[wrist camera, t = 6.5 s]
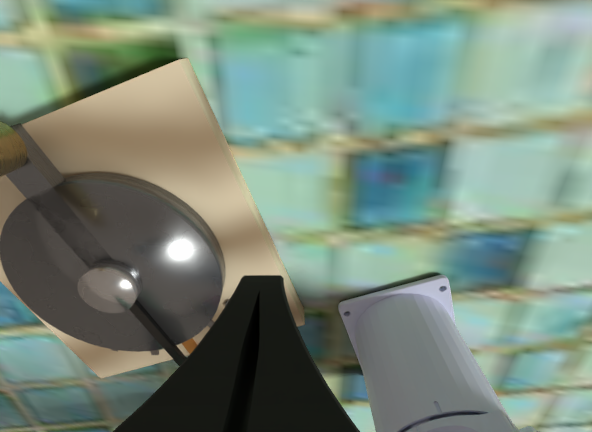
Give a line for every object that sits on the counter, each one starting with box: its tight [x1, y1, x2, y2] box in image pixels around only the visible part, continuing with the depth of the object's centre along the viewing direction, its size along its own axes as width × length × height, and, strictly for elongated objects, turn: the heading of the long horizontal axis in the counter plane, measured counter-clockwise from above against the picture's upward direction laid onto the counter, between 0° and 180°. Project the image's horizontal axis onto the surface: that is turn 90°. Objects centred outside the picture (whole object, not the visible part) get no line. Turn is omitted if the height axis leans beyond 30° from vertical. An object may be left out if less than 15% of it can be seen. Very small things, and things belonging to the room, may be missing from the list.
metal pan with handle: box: [0, 121, 226, 366], centre depth 16 cm, size 17×12×6 cm
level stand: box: [0, 58, 305, 378], centre depth 20 cm, size 18×17×2 cm
